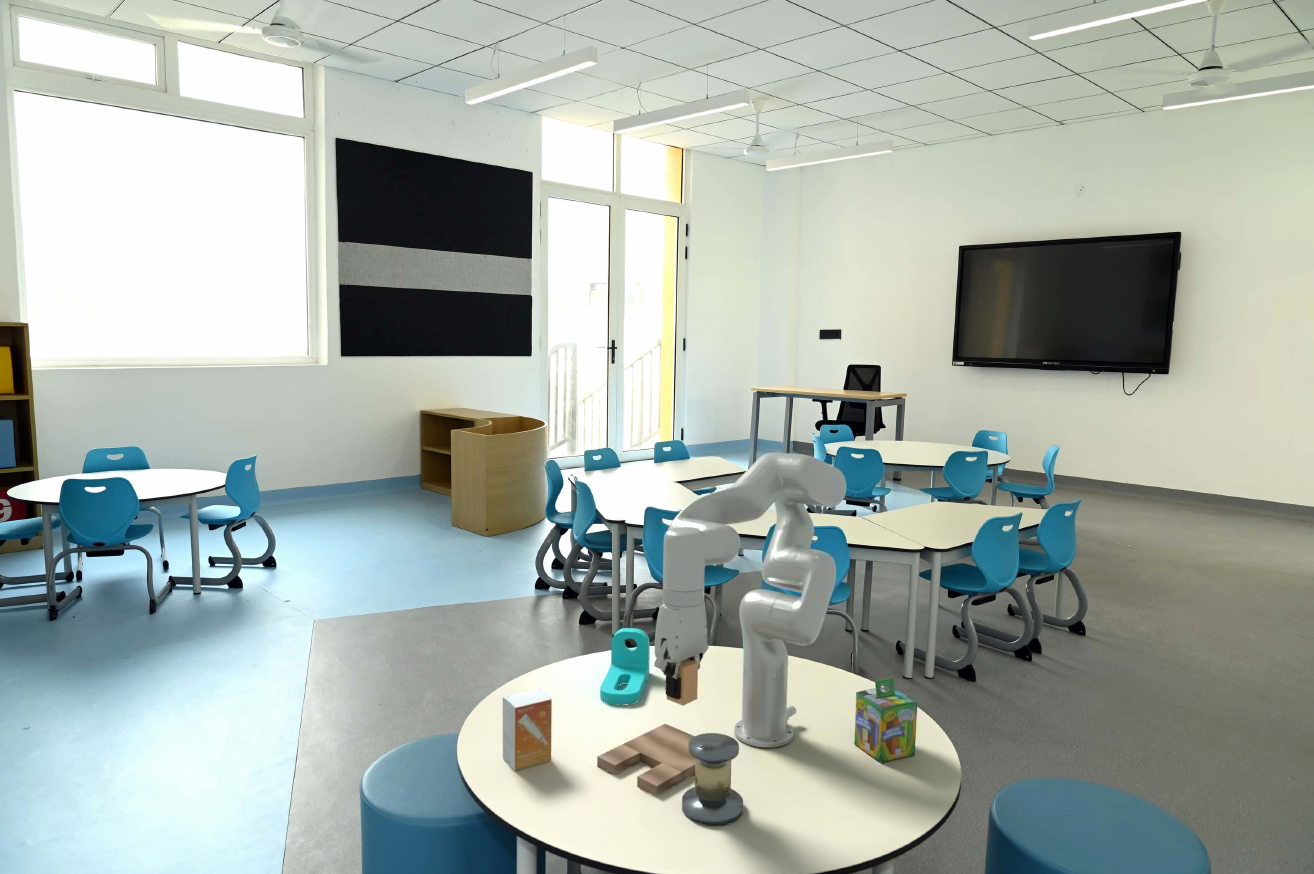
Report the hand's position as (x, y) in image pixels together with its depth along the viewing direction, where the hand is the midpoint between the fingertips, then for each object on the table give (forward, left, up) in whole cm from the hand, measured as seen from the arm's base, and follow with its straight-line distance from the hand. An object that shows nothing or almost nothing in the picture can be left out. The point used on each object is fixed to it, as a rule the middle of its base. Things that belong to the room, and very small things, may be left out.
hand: (681, 692), depth 150 cm
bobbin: (0, +8, -19) cm, 21 cm away
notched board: (-6, -10, -19) cm, 23 cm away
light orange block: (0, 0, -1) cm, 1 cm away
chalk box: (-42, +20, -20) cm, 50 cm away
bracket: (-27, -41, -20) cm, 53 cm away
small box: (+12, -30, -20) cm, 38 cm away
